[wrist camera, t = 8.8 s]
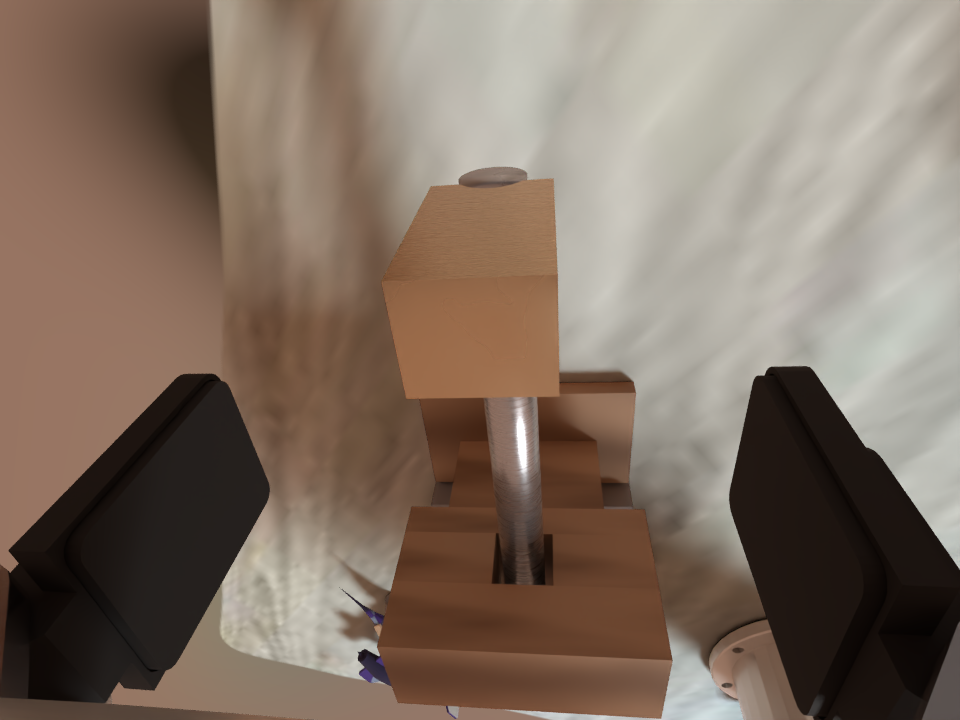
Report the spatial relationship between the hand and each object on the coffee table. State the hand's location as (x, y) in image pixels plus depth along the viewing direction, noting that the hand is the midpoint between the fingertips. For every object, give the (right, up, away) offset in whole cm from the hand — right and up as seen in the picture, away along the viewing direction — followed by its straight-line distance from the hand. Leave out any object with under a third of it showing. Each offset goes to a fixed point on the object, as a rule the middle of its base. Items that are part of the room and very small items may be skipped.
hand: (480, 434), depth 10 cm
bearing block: (+3, -4, +24) cm, 24 cm away
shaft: (+1, -2, +13) cm, 13 cm away
